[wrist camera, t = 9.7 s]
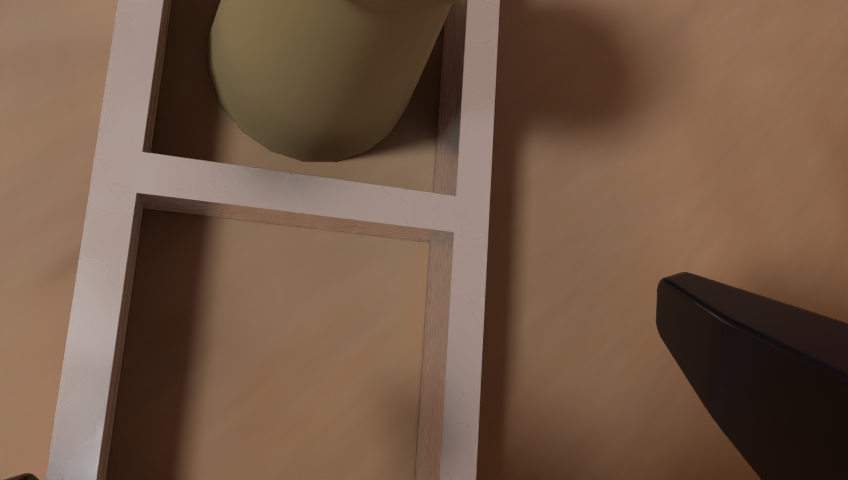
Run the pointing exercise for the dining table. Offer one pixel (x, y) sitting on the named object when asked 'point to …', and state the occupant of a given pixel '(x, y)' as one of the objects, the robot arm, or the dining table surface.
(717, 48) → the dining table surface
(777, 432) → the robot arm
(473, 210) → the grey divided tray
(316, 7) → the cork
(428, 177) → the dining table surface
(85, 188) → the dining table surface
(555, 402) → the dining table surface
